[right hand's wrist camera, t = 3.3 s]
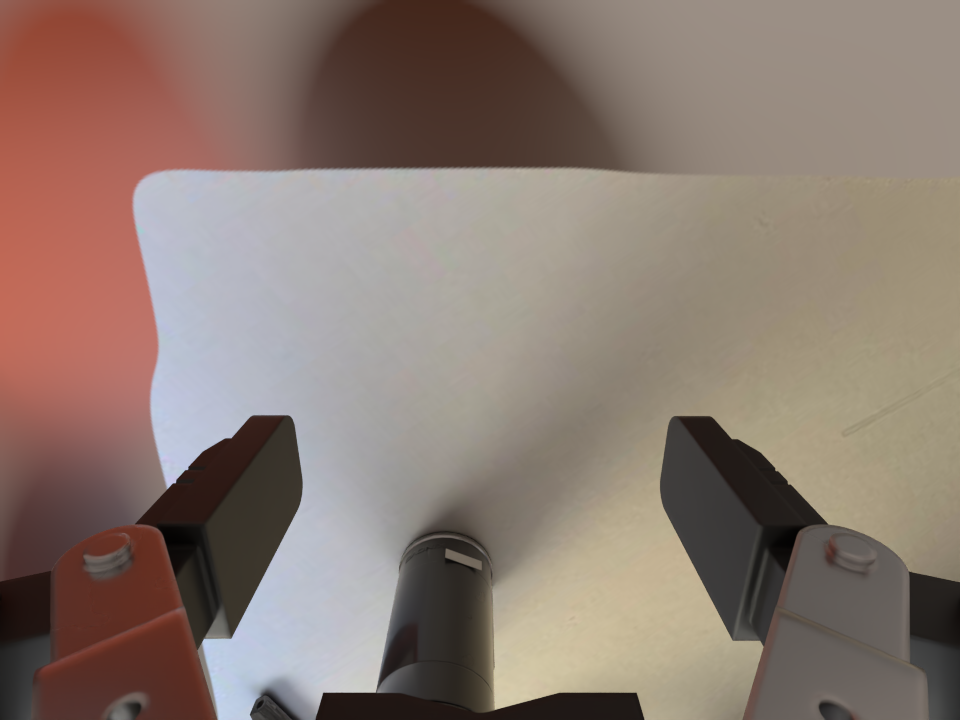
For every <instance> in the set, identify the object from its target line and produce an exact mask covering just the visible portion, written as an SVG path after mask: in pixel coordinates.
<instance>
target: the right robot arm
mask: <svg viewBox="0 0 960 720" xmlns="http://www.w3.org/2000/svg"><path fill="white" fill-rule="evenodd" d="M188 468H189V469H188V470H185V471H184V472H183V473H182V475H181V476H180V477H179V478H178V479H177V480H176V483H173V484H172V485H171V486H170V487H169V488H168V489H167V491H166V492H165V493H164V494H163V495H162V496H161V497H160V498H159V499H158V500H157V501H156V502H155V503H154V504H153V505H152V507H151V508H150V509H149V510H148V511H147V512H146V513H145V514H144V515H143V516H142V517H141V518H140V519H139V520H138V521H137V523H136V524H135V525H126V526H120V527H116V528H112V529H109V530H106V531H103V532H100V533H98V534H95V535H93V536H91V537H89V538H87V539H85V540H83V541H81V542H80V543H78V544H77V545H75V546H74V547H72V548H71V549H70V550H68V551H67V552H66V553H65V554H64V555H63V556H62V557H61V558H60V559H59V560H58V561H57V562H56V564H55V565H54V567H53V569H52V571H49V572H44V573H39V574H34V575H30V576H25V577H20V578H15V579H11V580H6V581H1V582H0V720H217V717H216V713H215V710H214V707H213V703H212V700H211V696H210V693H209V689H208V686H207V683H206V679H205V676H204V672H203V669H202V666H201V662H200V659H199V655H198V652H197V650H198V648H199V647H200V645H201V643H202V641H203V640H204V639H231V638H232V636H233V634H234V632H235V630H236V628H237V626H238V624H239V623H240V621H241V619H242V617H243V615H244V613H245V611H246V609H247V607H248V605H249V603H250V601H251V599H252V597H253V595H254V593H255V591H256V590H257V588H258V586H259V584H260V582H261V580H262V578H263V576H264V574H265V572H266V570H267V568H268V566H269V564H270V562H271V560H272V559H273V557H274V555H275V553H276V551H277V549H278V547H279V545H280V543H281V541H282V539H283V537H284V535H285V533H286V531H287V529H288V527H289V526H290V524H291V522H292V520H293V518H294V516H295V514H296V512H297V510H298V508H299V505H300V502H301V497H302V488H303V482H302V473H301V466H300V459H299V452H298V445H297V439H296V432H295V426H294V422H293V419H292V418H291V417H290V416H288V415H254V416H251V417H250V418H249V419H248V420H247V421H246V422H245V424H244V425H243V426H242V427H241V428H240V429H239V430H238V432H237V433H236V434H235V435H234V436H233V437H232V438H225V439H224V440H222V441H220V442H218V443H217V444H215V445H213V446H212V447H210V448H208V449H207V450H205V451H203V452H202V453H201V454H200V455H199V456H198V457H197V459H196V460H195V461H194V462H193V463H192V464H191V465H190V466H189V467H188ZM660 493H661V499H662V504H663V507H664V509H665V511H666V513H667V515H668V517H669V519H670V521H671V523H672V525H673V527H674V529H675V531H676V533H677V534H678V536H679V538H680V540H681V542H682V544H683V546H684V548H685V550H686V552H687V554H688V556H689V557H690V559H691V561H692V563H693V565H694V567H695V569H696V571H697V573H698V575H699V577H700V579H701V580H702V582H703V584H704V586H705V588H706V590H707V592H708V594H709V596H710V598H711V600H712V602H713V603H714V605H715V607H716V609H717V611H718V613H719V615H720V617H721V619H722V621H723V623H724V625H725V626H726V628H727V630H728V632H729V634H730V636H731V638H732V640H733V641H761V643H762V644H763V646H764V648H763V652H762V655H761V659H760V662H759V665H758V669H757V672H756V676H755V679H754V683H753V686H752V689H751V693H750V696H749V700H748V703H747V707H746V710H745V713H744V717H743V720H960V582H955V581H950V580H946V579H941V578H936V577H931V576H927V575H922V574H917V573H912V572H909V571H908V569H907V567H906V565H905V564H904V562H903V561H902V560H901V559H900V558H899V557H898V556H897V555H896V554H895V553H894V552H893V551H892V550H890V549H889V548H888V547H886V546H885V545H883V544H882V543H880V542H879V541H877V540H875V539H873V538H871V537H869V536H867V535H865V534H862V533H860V532H857V531H854V530H851V529H848V528H844V527H840V526H835V525H828V523H827V522H826V521H825V520H824V519H823V518H822V517H821V516H820V515H819V514H818V513H817V512H816V511H815V510H814V509H813V508H812V507H811V505H810V504H809V503H808V502H807V501H806V500H805V499H804V498H803V497H802V496H801V495H800V494H799V493H798V492H797V491H796V490H795V489H794V488H793V486H792V485H788V481H787V480H786V479H785V478H784V477H783V476H782V475H781V474H780V473H779V472H778V471H775V467H774V466H773V465H772V464H771V463H770V462H769V461H768V460H767V459H766V458H765V457H764V456H763V455H762V454H761V453H760V452H759V451H757V450H755V449H753V448H752V447H750V446H748V445H747V444H745V443H743V442H742V441H740V440H738V439H731V438H730V437H729V435H728V434H727V433H726V432H725V431H724V430H723V429H722V428H721V426H720V425H719V424H718V423H717V422H716V421H715V420H714V419H713V418H712V417H710V416H674V417H672V419H671V420H670V422H669V426H668V431H667V438H666V445H665V452H664V458H663V465H662V472H661V479H660ZM491 580H492V564H491V560H490V558H489V555H488V554H487V552H486V551H485V549H484V548H483V547H482V546H481V545H480V544H479V543H477V542H476V541H474V540H473V539H471V538H469V537H467V536H464V535H461V534H457V533H451V532H439V533H433V534H429V535H426V536H423V537H421V538H419V539H417V540H416V541H414V542H413V543H412V544H411V545H410V546H409V547H408V548H407V549H406V550H405V552H404V554H403V556H402V558H401V562H400V567H399V577H398V583H397V588H396V592H395V597H394V602H393V608H392V613H391V618H390V623H389V628H388V633H387V638H386V644H385V649H384V654H383V659H382V664H381V669H380V675H379V680H378V685H377V690H376V693H323V696H322V699H321V703H320V706H319V710H318V713H317V716H316V720H644V716H643V713H642V710H641V706H640V703H639V699H638V696H637V693H557V694H553V695H549V696H546V697H542V698H538V699H534V700H531V701H527V702H523V703H519V704H516V705H512V706H508V707H504V708H501V709H497V710H495V702H494V634H493V598H492V587H491Z"/></svg>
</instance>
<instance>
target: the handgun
mask: <svg viewBox="0 0 960 720" xmlns="http://www.w3.org/2000/svg"><path fill="white" fill-rule="evenodd" d="M250 716H251V718H252V720H292V719H291V718H290V717H289V716H288V715H287V714H286V713H284V712H283V711H282V710H281V709H280V708H279V707H278V706H277V705H276V704H275V703H274V702H273V701H272V700H271V699H270V698H269V697H268V696H266V695H265V696H263V697H260V698H258V699H257V700H256V702H255V704H254V706H253V708H252V711H251V713H250Z"/></svg>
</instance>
